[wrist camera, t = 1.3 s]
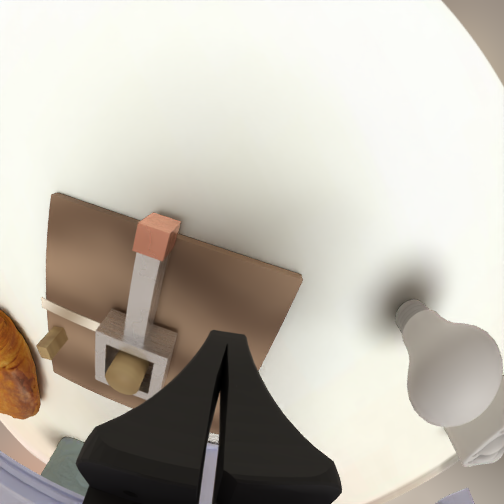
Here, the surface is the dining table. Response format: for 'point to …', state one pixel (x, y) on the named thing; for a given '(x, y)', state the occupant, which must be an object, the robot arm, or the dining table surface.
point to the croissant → (16, 373)
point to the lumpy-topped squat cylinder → (481, 434)
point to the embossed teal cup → (66, 466)
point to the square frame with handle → (142, 309)
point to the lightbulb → (448, 366)
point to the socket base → (169, 304)
